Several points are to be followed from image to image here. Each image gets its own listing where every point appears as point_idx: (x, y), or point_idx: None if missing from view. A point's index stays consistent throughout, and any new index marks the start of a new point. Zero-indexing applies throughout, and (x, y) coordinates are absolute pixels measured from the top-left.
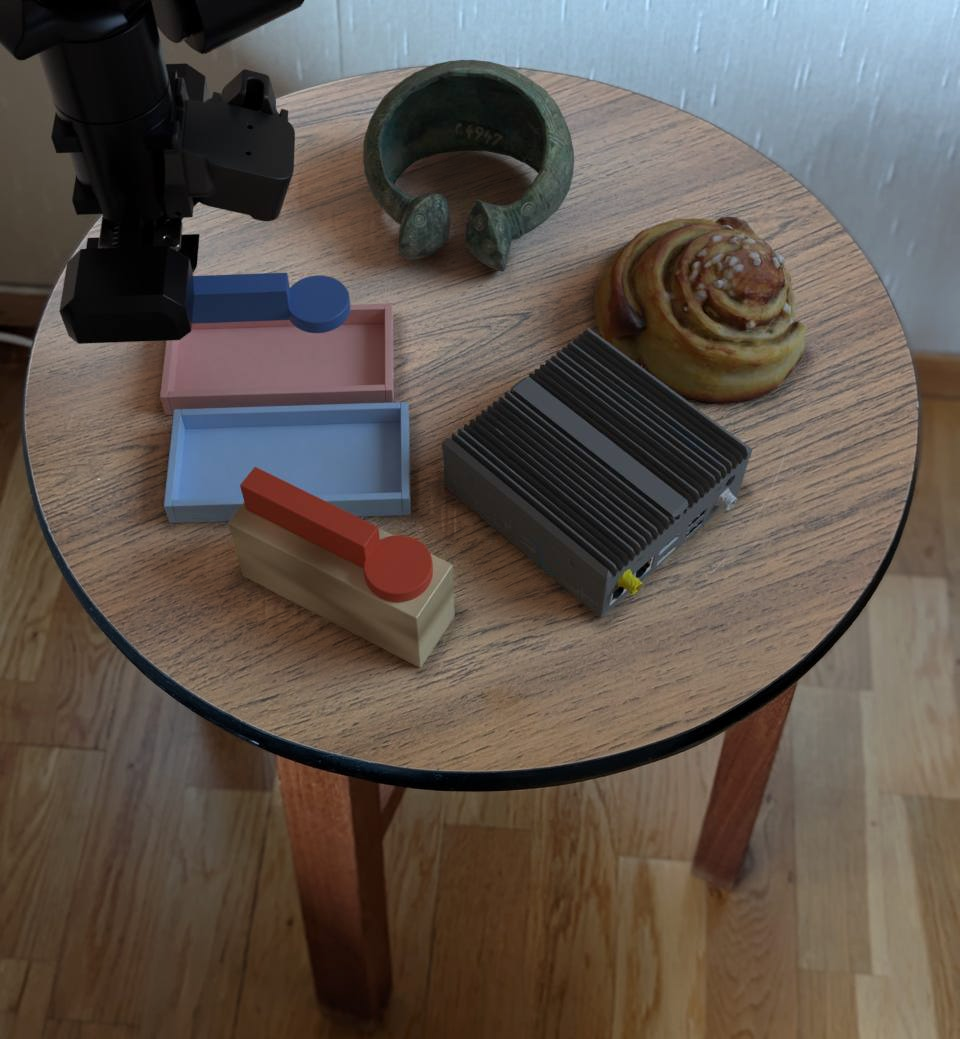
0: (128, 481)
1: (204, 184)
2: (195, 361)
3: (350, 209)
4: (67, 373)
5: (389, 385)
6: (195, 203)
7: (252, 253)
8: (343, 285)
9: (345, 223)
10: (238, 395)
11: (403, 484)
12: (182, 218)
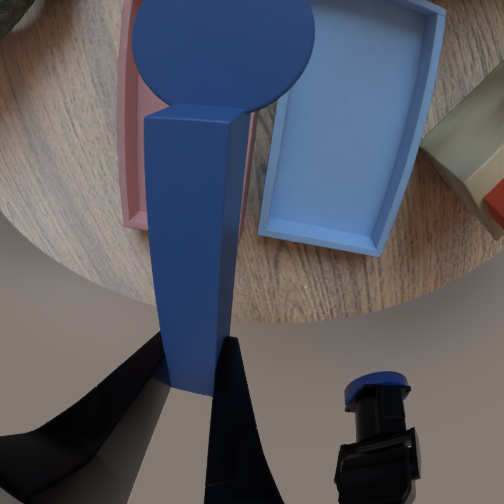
0: (315, 267)
1: None
2: None
3: (15, 58)
4: None
5: None
6: (45, 490)
7: (53, 141)
8: None
9: (26, 59)
10: (247, 165)
11: (428, 6)
12: (83, 465)
